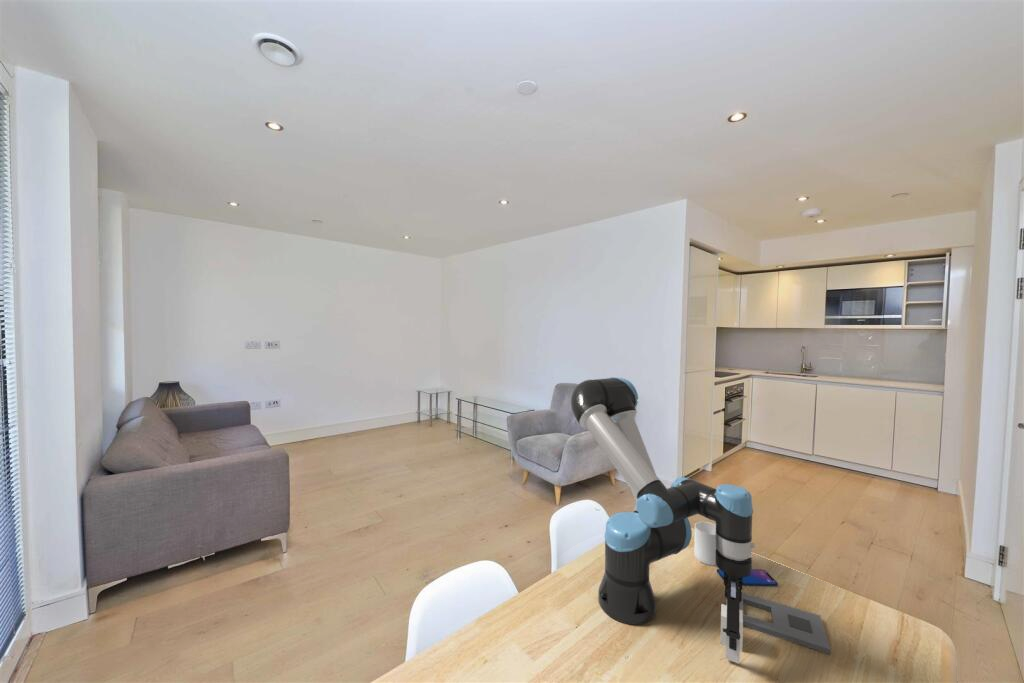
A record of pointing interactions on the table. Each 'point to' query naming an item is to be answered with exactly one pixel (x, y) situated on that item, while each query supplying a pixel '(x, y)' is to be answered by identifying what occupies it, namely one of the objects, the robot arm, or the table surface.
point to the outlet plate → (787, 623)
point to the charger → (724, 625)
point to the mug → (705, 542)
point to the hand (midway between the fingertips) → (732, 639)
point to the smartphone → (755, 578)
